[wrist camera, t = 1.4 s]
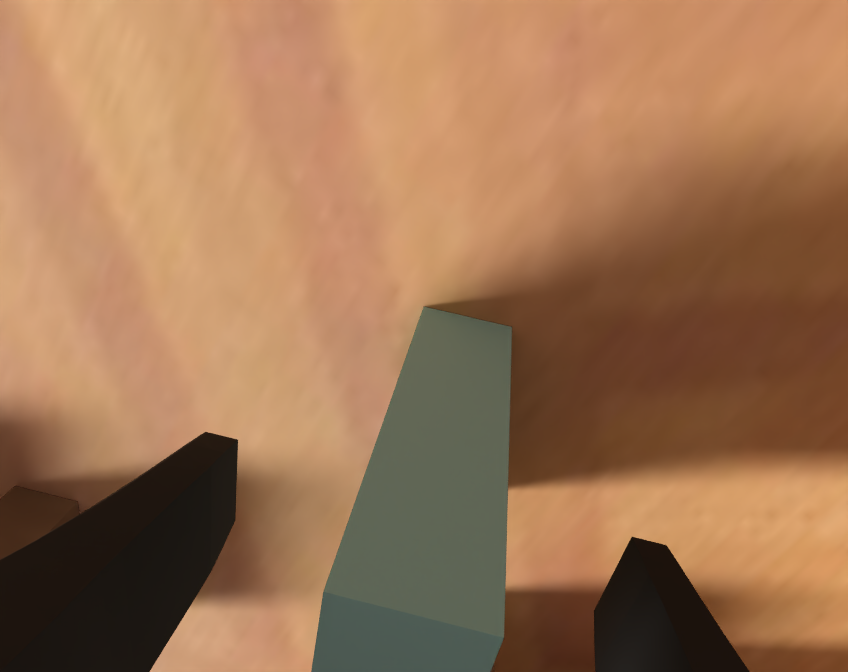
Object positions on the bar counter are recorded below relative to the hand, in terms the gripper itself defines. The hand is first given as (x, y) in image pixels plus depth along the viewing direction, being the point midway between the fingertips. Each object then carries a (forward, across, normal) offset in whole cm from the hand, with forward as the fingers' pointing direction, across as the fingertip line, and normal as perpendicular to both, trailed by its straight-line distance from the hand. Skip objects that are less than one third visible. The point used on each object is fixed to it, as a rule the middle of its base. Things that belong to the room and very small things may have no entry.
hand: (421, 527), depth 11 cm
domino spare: (+4, 0, 0) cm, 4 cm away
